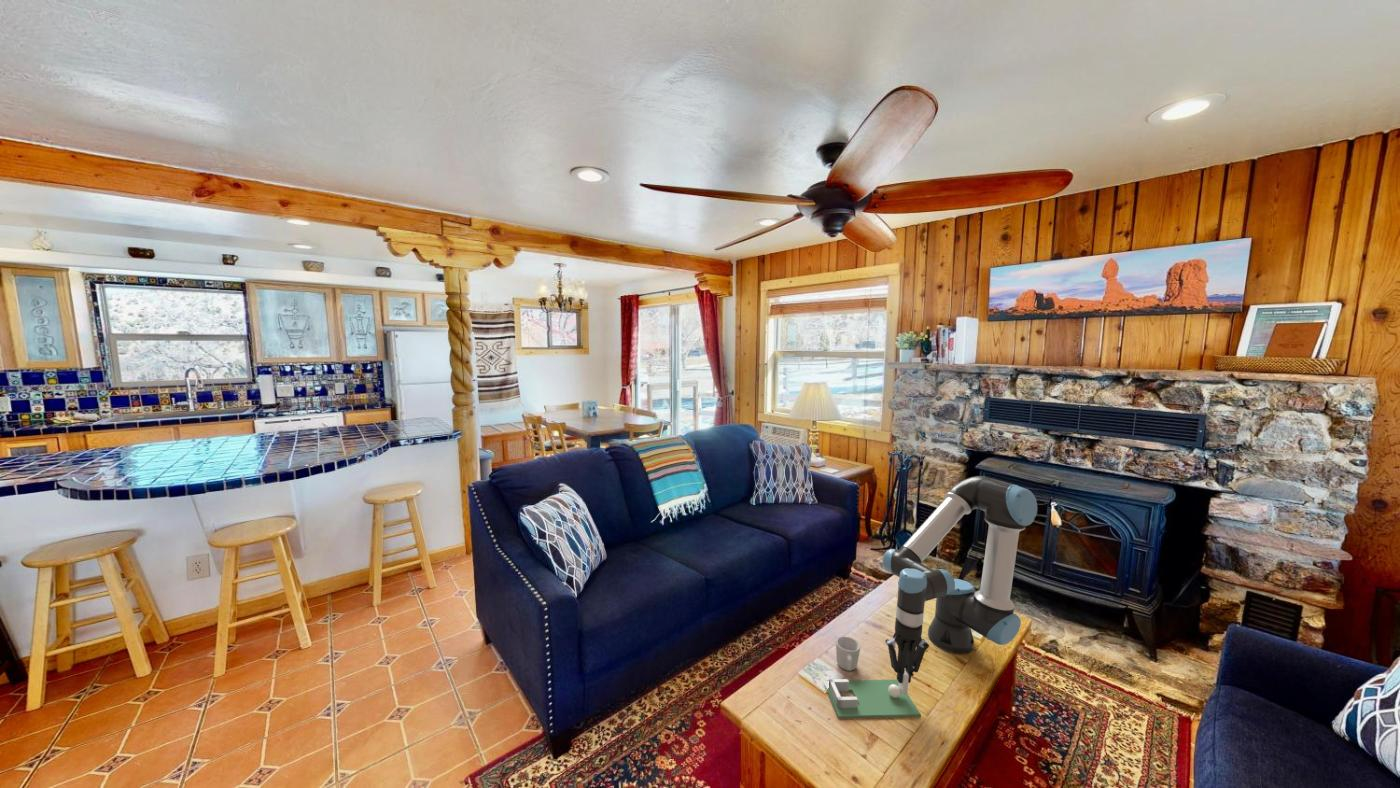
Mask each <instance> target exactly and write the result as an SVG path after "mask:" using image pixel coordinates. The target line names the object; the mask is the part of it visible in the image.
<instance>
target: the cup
mask: <svg viewBox="0 0 1400 788" xmlns="http://www.w3.org/2000/svg"><path fill="white" fill-rule="evenodd" d="M835 651H836V663H837V664H838V666H839V667H840V668H842V669H843V670H845V671H854V670H855V669H857V666H858V663H859V662H858V661H859V656H860V652H861V644H860V642H858V641H857V640H856V639H855V638H853V637H850V636H846V635H845V636H839V637H838V638H837V639H836V640H835Z"/></svg>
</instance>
